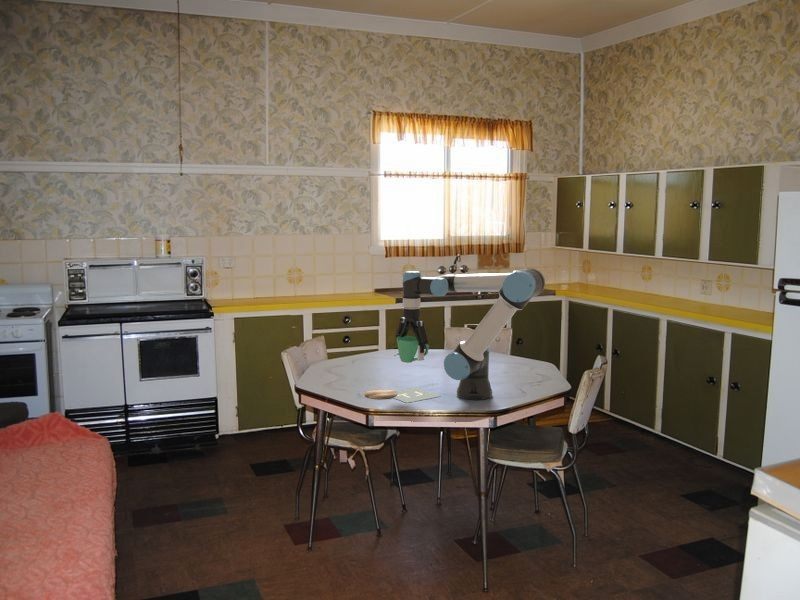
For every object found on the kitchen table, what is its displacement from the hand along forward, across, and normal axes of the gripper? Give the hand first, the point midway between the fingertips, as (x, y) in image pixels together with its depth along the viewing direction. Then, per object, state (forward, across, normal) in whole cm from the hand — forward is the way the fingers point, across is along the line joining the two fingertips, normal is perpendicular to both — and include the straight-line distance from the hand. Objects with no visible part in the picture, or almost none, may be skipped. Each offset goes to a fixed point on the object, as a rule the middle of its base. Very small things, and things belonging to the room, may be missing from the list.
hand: (411, 357), depth 313 cm
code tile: (+16, 0, 0) cm, 16 cm away
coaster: (+16, +8, +10) cm, 21 cm away
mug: (+2, 0, 0) cm, 2 cm away
